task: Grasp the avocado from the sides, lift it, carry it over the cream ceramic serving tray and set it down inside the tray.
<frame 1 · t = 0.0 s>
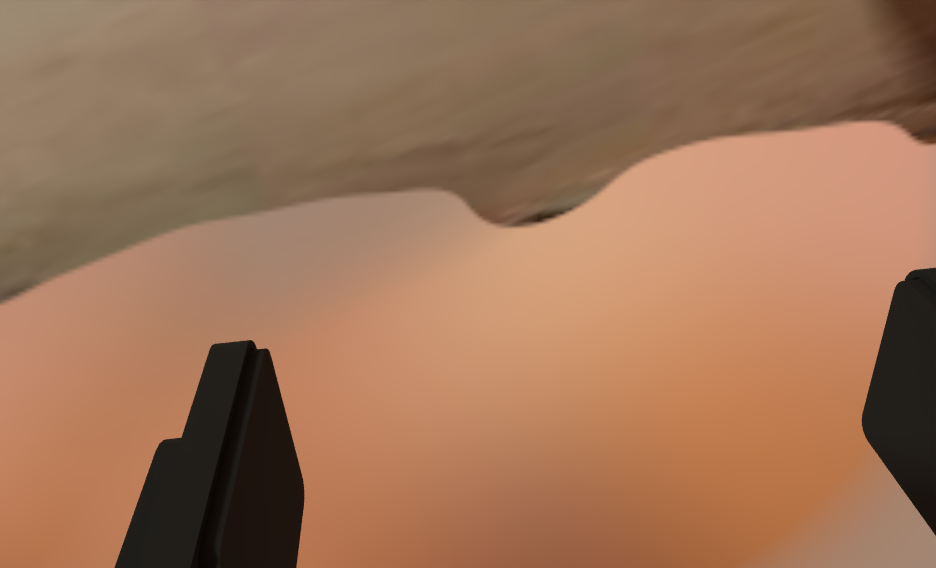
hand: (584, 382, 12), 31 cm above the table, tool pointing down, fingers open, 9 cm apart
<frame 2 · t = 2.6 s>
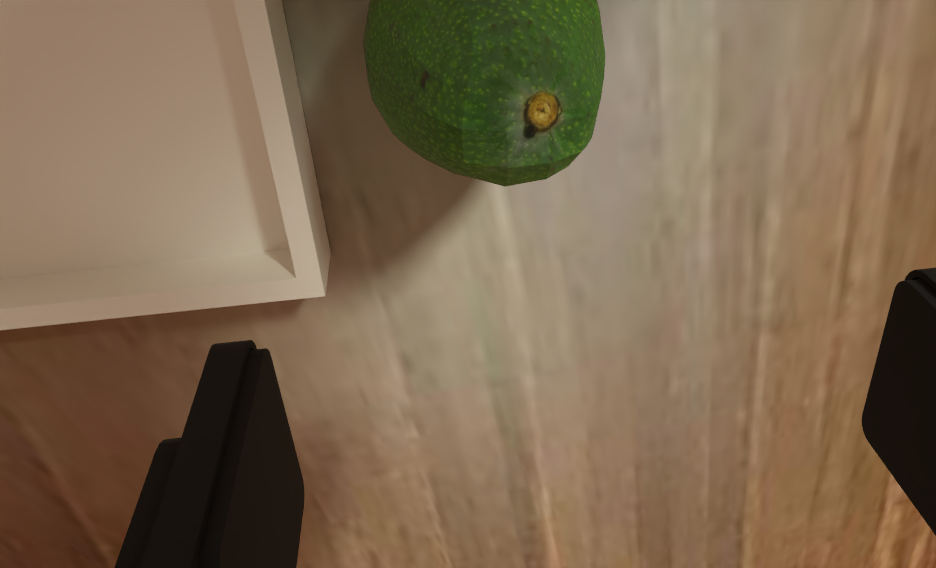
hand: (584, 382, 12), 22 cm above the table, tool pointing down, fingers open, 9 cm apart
avocado: (469, 8, 31), on the table
tray: (57, 76, 31), on the table
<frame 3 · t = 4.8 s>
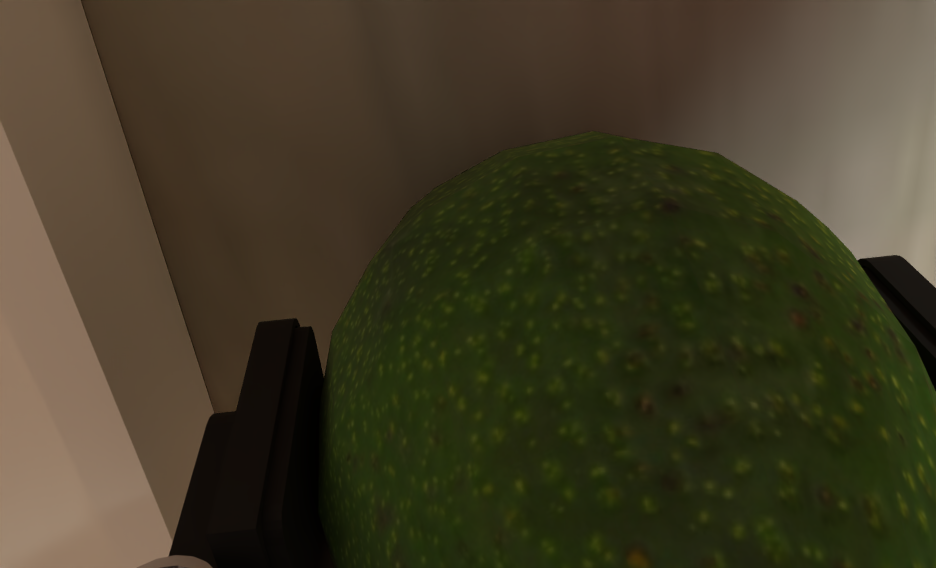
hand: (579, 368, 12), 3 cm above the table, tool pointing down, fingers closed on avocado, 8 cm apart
avocado: (542, 247, 15), on the table, touching gripper
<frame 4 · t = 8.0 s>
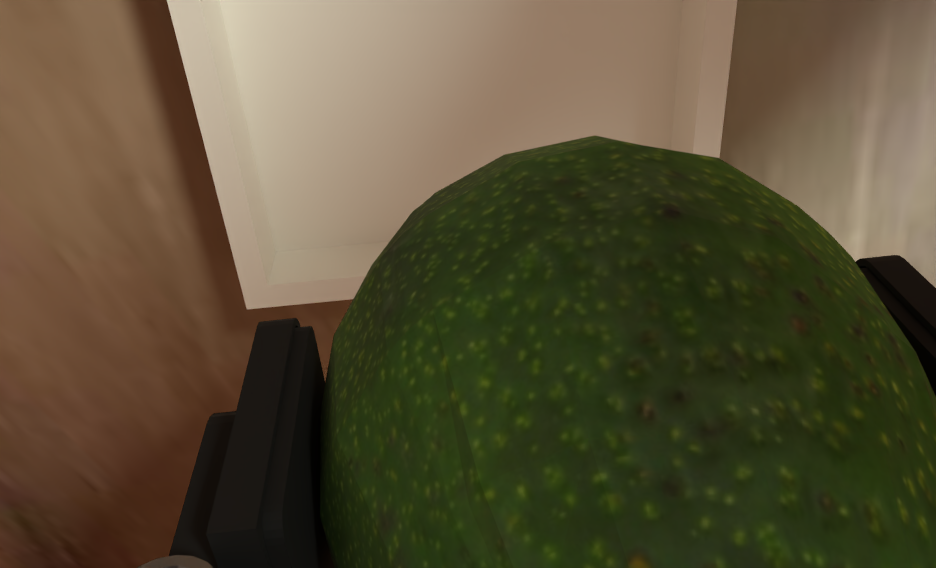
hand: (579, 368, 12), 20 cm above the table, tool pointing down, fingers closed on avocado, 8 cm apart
avocado: (543, 250, 15), point 16 cm above the table, touching gripper
tray: (456, 28, 29), on the table
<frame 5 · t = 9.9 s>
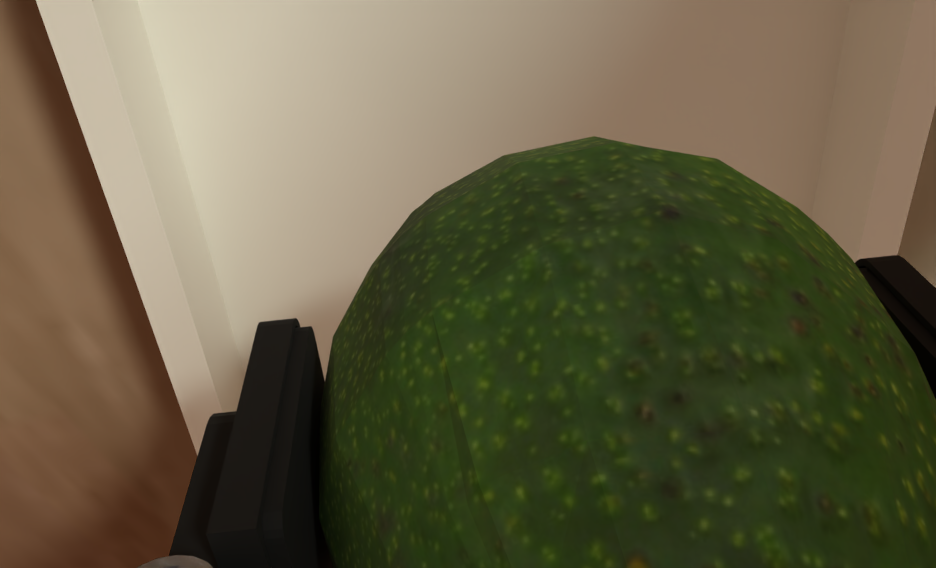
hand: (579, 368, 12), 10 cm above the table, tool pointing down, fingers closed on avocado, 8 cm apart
avocado: (542, 250, 15), point 6 cm above the table, touching gripper
tray: (507, 126, 21), on the table
when the fingers open (6 cm above the table, at t = 11.4 s): avocado drops 1 cm, resting on tray.
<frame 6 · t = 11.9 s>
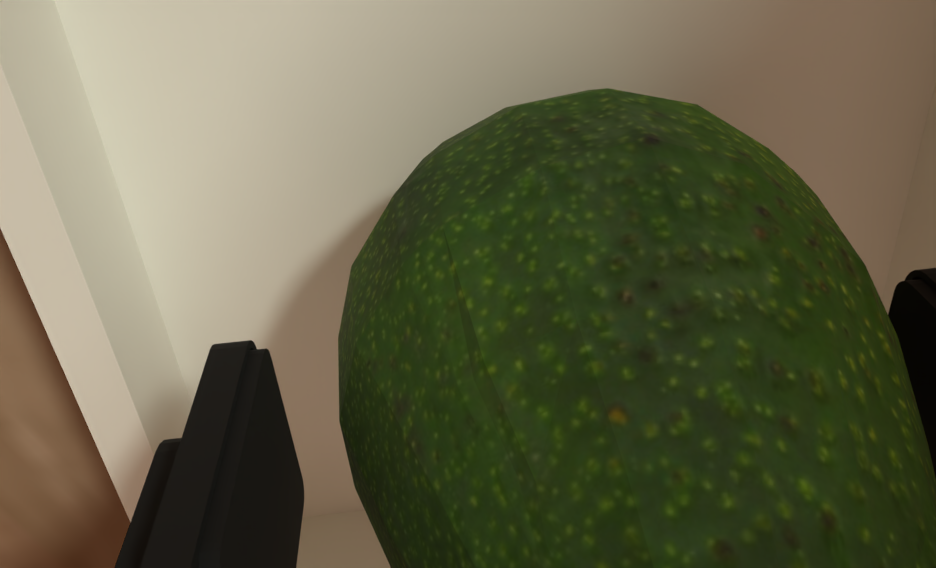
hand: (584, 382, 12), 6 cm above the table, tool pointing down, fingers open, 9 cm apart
avocado: (541, 208, 17), point 1 cm above the table, touching tray
tray: (525, 197, 17), on the table
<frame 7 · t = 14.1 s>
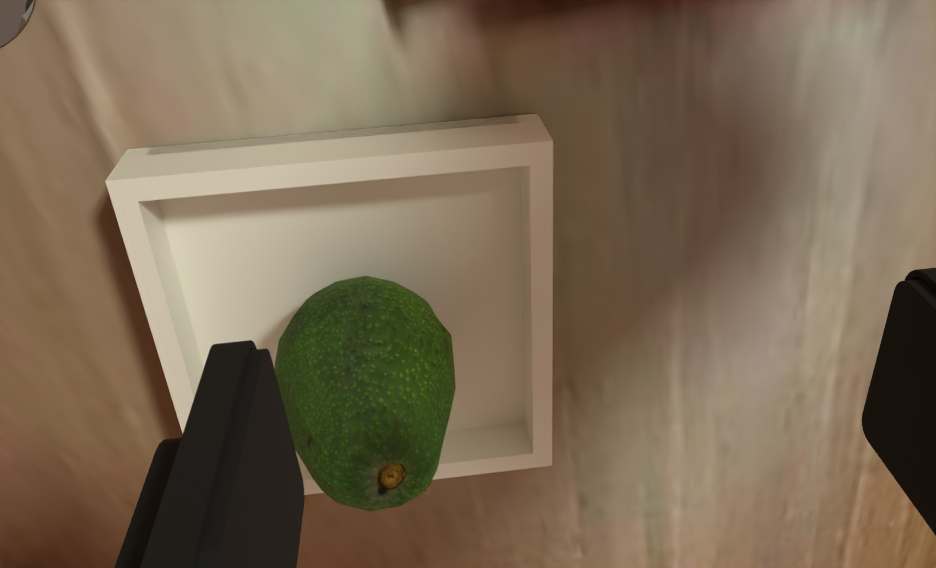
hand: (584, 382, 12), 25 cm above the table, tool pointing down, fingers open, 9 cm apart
avocado: (364, 309, 39), point 1 cm above the table, touching tray
tray: (360, 303, 40), on the table
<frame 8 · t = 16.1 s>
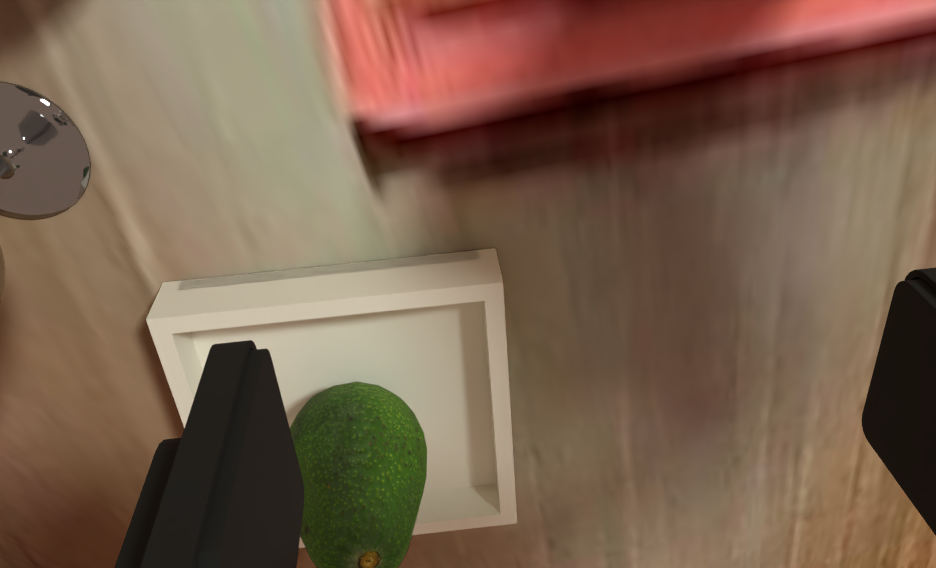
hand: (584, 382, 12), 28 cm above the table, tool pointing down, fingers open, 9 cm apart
wine glass: (14, 151, 39), on the table
avocado: (358, 399, 47), point 1 cm above the table, touching tray
tray: (355, 392, 48), on the table
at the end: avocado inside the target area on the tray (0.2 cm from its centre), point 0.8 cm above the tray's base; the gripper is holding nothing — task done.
